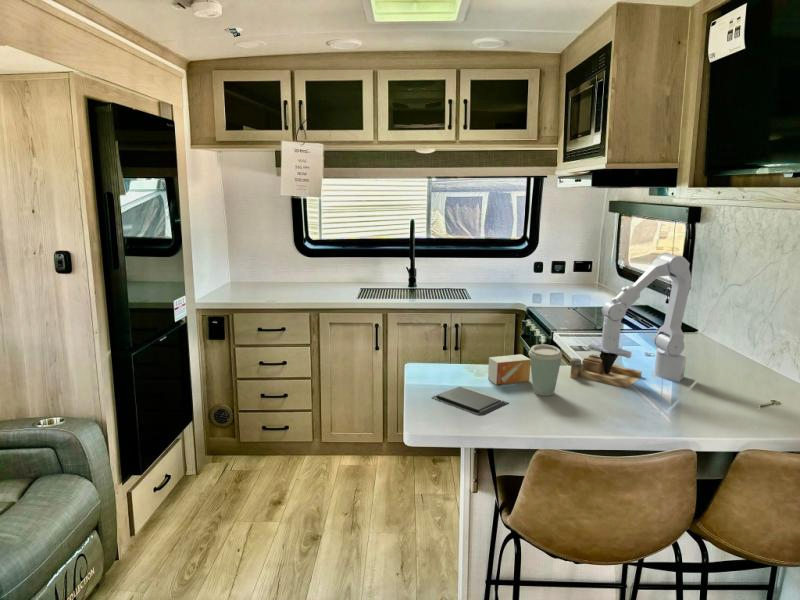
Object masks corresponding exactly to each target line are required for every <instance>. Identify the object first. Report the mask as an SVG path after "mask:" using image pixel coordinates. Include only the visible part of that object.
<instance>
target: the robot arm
mask: <svg viewBox="0 0 800 600" xmlns="http://www.w3.org/2000/svg"><path fill="white" fill-rule="evenodd" d="M690 265H691V263H690V262H689V261H688V260H687V259H686V257H684V256H682V255H676V254H671V253H669V252H663V253H660V254H659V255H658V257H656V258H655V259H653V260H652V262H651V265H649V267H648V268H647V269H646V270H645V271H644V273H643V274H642V275H640V277H639V278H638V279H637V280H636V281H635V282H634V283H633V284H632V285H626V286H625V287H624V286H623V287H622V288H620V289H621V291H620V292H619V293H618V294H617V295H616V296H615V297H612V299H611V300H610V301H607V302H605V303H604V305H603V306H602V308H601V310H600V311H601V314H602V315H603V322H602V323H603V324H602V332H601V334H602V335H601V344H595V343H589V344H588V346H587V347H588V348H587V349H588V351H595V352H599V353H600V354H599V357H600V358H601V360H602V363H603V366H604V372H605V374H609V373H610V371H611V368H612V365H614V364H615V361H616V360H617V358H618V357H624V358H627V359H630V358H631V357H632V351H629V350H626V349H622V348H620V347H619V346H620V335H621V327H622V320H623V319H624V318H625V316H626V315H627V314H626V313H627V310H628V309H629V308H631V306H633V305H634V304H635V302H637V301H638V300H639V299H640V297H641V293H642V291H644V290H645V288H647V287H648V286H649V285H651V283H653V282H654V281H655V280H657V278H660V277H669V279H671V281H672V284H671V285H672V286H671V290H670V295H669V298H668V303H667V308H666V313H665V318H664V322H663V325H662V326H660V327H659V328H658V332H657V333H656V335H655V336H654V340H653V343H654V346H655V347H656V355H655V363H654V364H655V365H654V372H653V373H651V374H650V376H651V377H655V378H659V379H665V380H668V381H673V382H681V380H683V378H684V377H685V370H686V363H687V362H686V361H687V358H686V356H685V355H682V354H681V353H683V351H684V349H685V342H684V339H685V338H684V337H685V334H684V332H683V330H682V323H683V318H684V315H685V310H686V307H687V306H686V305H687V301H688V297H689V293H690V288H691V283H692V274H691V271H690Z"/></svg>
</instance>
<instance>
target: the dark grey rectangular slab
mask: <svg viewBox="0 0 800 600" xmlns="http://www.w3.org/2000/svg"><path fill="white" fill-rule="evenodd" d="M431 399H432V400H434V399H435V401H437V402H441V403H442V402H443V404H445V405H449V406H451V407H455V408H457V409H460V410H461V411H465V412H467V413H470V414H472V415H475V416H478V417H481V416H486V415H488V414H490V413H492V412H494V411H496V410H498V409H501V408H503V407H505V406H508V404H509V405H510V402H508V401H505V400H502V399H500V398H497V397H494V396H490V395H488V394H485V393H482V392H478V391H476V390H472V389H469V388H466V387H462V386H458V387H456V388H455V387H454V388H452V389H450V390H447V391H444V392H441V393H439V394H436V395H434V396H432V397H431ZM502 406H503V407H502ZM500 407H501V408H500Z"/></svg>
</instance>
